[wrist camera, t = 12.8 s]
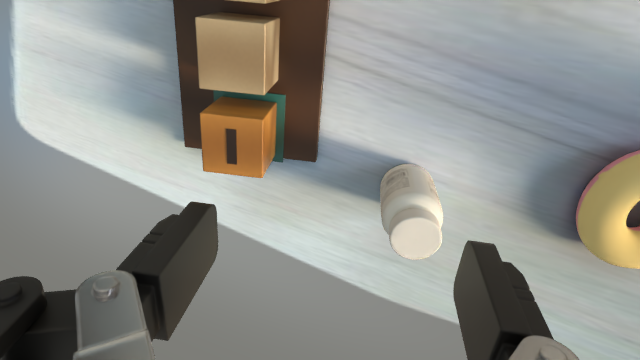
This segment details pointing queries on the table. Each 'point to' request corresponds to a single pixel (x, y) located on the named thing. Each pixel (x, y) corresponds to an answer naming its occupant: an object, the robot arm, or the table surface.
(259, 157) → the orange slotted cube
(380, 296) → the table surface
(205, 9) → the board
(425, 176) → the pill bottle
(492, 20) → the table surface
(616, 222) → the donut
